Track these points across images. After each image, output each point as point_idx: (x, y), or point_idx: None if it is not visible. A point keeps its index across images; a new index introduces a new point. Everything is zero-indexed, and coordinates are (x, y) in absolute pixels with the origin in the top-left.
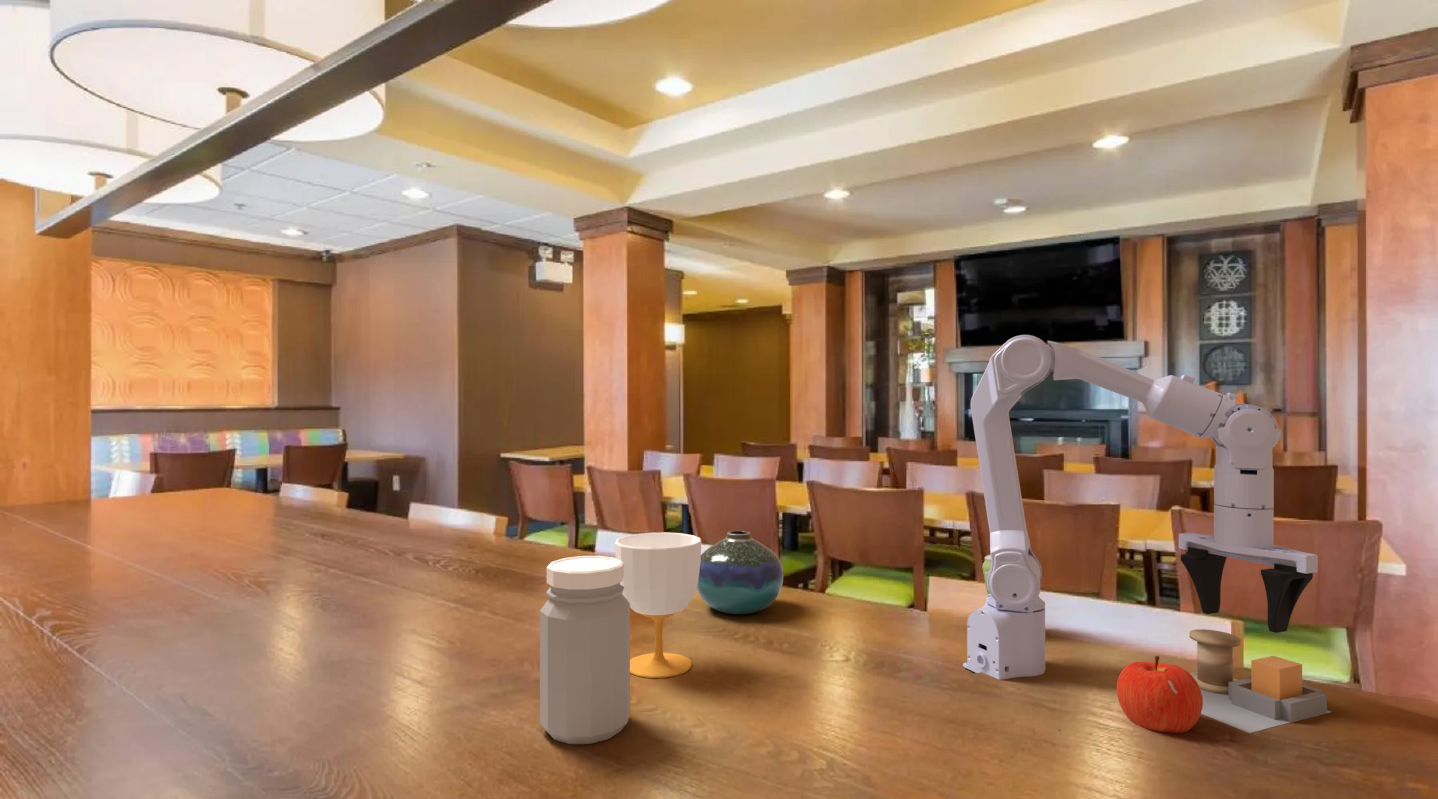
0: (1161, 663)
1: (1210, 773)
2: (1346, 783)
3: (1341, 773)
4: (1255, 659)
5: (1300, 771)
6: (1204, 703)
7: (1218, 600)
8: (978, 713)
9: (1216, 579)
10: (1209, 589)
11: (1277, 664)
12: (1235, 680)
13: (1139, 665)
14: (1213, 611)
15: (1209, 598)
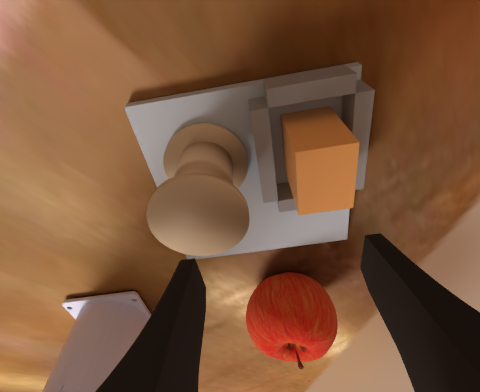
0: (285, 341)
1: (366, 297)
2: (448, 223)
3: (438, 211)
4: (298, 205)
5: (409, 240)
6: (263, 224)
7: (190, 288)
8: (215, 361)
9: (177, 362)
10: (192, 346)
11: (335, 190)
12: (211, 130)
13: (280, 356)
14: (200, 277)
15: (197, 319)
